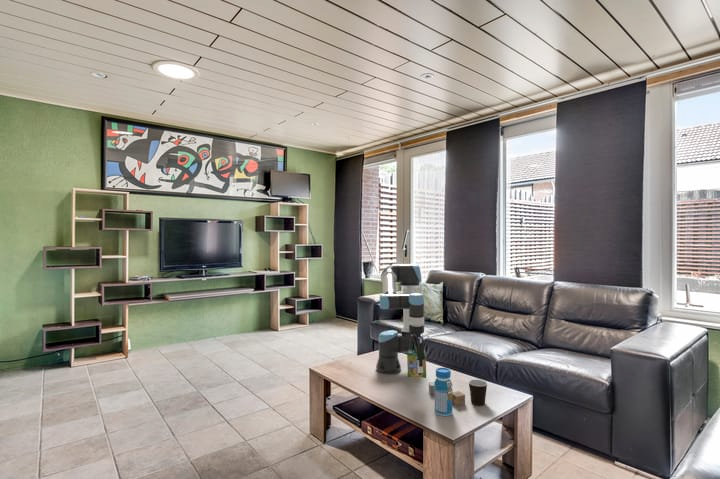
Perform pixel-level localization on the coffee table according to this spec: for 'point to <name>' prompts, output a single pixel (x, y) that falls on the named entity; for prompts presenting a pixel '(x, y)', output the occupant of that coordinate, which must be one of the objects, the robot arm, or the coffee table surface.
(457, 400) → the walnut block
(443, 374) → the beverage bottle
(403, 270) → the robot arm
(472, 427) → the coffee table surface
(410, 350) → the chalk box
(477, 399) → the coffee mug
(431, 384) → the gray cube
